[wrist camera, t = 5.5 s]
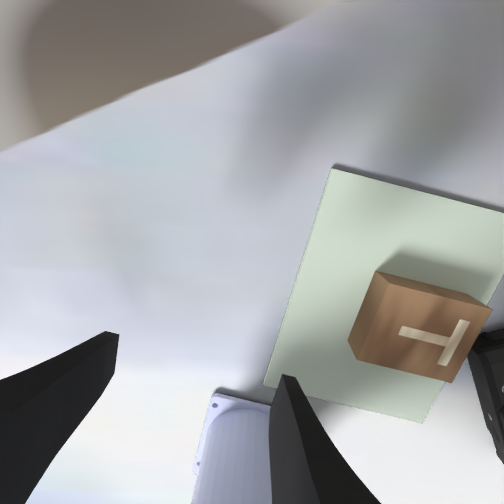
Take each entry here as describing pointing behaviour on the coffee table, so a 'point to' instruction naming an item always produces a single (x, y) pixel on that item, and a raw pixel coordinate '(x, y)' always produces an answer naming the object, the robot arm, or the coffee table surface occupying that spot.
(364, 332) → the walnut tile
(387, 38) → the coffee table surface
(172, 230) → the coffee table surface
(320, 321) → the mat
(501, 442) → the film camera
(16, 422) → the robot arm
